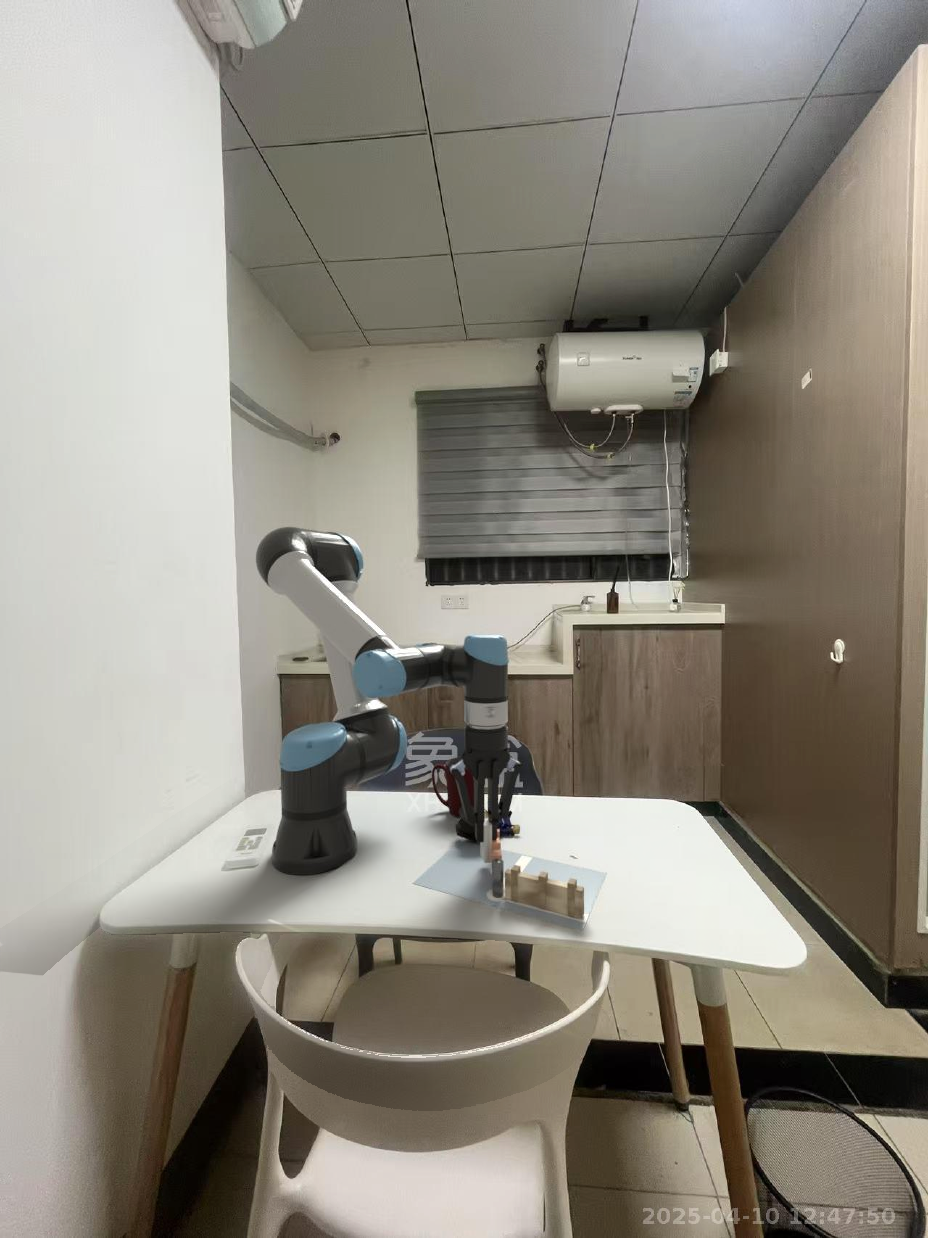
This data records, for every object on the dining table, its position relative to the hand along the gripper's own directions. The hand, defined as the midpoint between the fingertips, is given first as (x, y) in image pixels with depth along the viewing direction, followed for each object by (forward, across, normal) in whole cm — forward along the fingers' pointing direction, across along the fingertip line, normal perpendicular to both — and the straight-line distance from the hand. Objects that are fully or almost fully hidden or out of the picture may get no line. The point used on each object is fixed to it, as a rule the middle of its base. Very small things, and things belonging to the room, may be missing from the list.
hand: (486, 858), depth 87 cm
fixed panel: (+1, +5, -13) cm, 14 cm away
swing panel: (+1, +1, -1) cm, 2 cm away
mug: (+2, +1, +26) cm, 26 cm away
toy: (+2, +4, +12) cm, 13 cm away
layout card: (+2, +3, -4) cm, 6 cm away
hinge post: (+2, 0, -8) cm, 9 cm away
